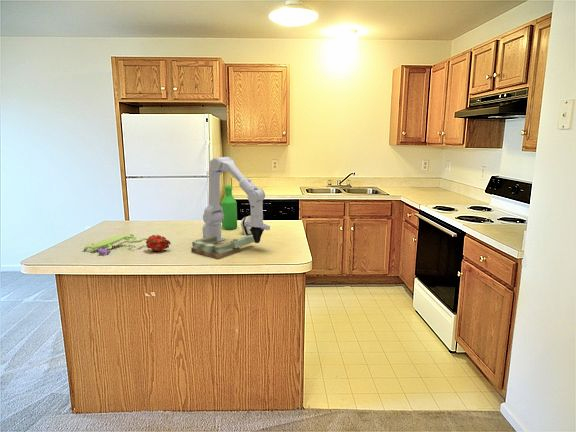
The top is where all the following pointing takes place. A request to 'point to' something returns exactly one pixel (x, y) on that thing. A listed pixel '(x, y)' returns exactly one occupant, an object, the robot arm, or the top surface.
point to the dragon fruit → (157, 243)
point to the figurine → (110, 241)
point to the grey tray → (213, 248)
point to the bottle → (229, 210)
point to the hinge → (246, 228)
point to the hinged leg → (242, 241)
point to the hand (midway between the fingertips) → (257, 242)
